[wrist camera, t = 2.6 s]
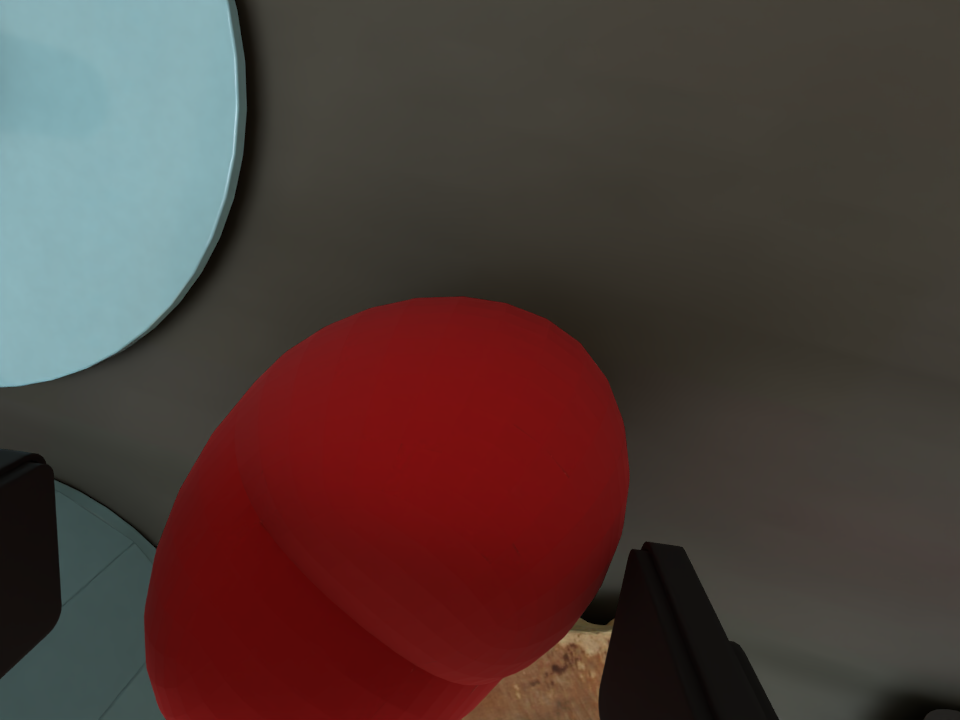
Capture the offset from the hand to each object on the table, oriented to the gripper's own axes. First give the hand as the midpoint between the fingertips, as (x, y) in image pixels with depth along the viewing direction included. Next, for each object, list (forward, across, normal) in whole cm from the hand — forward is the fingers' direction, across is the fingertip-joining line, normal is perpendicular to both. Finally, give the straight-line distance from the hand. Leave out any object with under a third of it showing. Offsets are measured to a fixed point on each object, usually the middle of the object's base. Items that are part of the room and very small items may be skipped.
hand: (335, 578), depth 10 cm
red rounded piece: (+8, -1, 0) cm, 8 cm away
